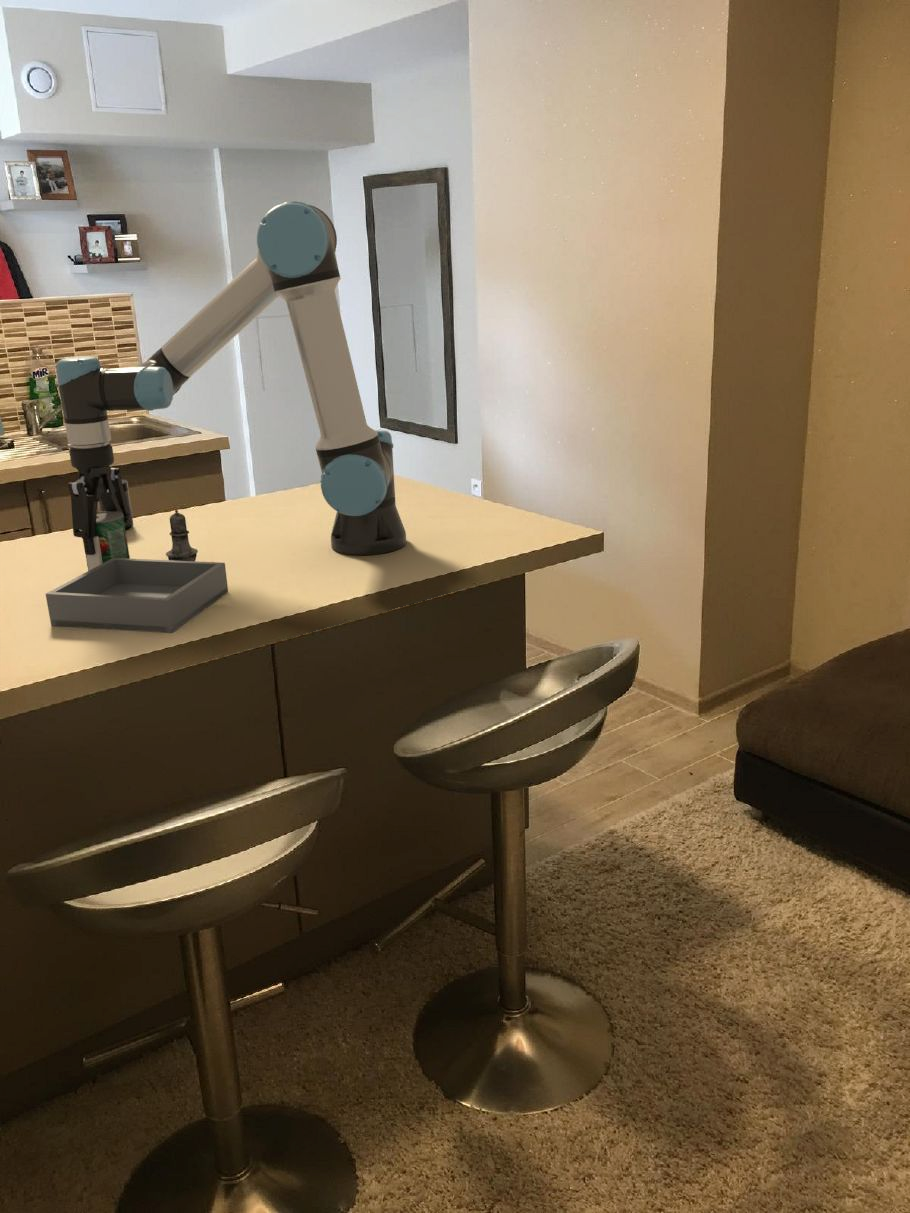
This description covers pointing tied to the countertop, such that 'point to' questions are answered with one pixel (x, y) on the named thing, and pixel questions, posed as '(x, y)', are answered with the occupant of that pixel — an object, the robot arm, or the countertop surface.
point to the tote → (138, 595)
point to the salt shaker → (180, 540)
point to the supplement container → (130, 523)
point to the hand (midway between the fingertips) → (108, 563)
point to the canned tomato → (111, 535)
